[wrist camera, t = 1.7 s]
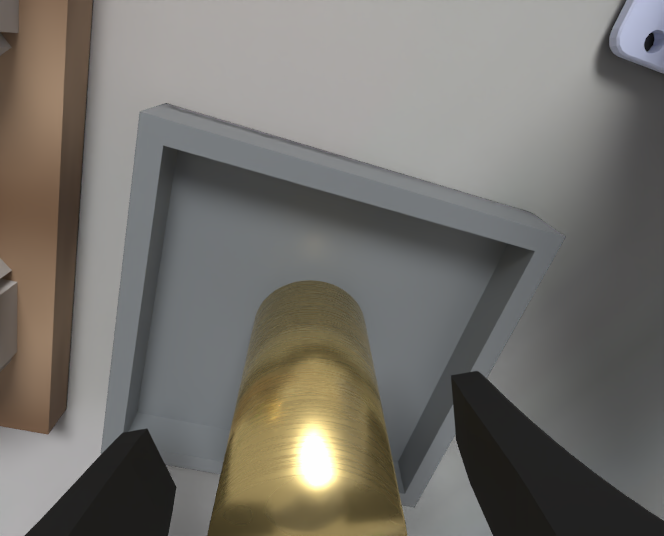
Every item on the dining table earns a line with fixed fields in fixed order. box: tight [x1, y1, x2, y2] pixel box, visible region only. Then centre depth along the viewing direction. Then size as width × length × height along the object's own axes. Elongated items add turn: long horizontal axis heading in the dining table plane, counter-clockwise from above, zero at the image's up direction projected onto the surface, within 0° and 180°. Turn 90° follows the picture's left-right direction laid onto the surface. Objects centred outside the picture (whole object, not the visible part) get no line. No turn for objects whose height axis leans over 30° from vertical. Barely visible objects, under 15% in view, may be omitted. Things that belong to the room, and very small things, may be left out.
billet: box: [208, 280, 407, 536], centre depth 11 cm, size 4×4×7 cm
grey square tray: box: [101, 103, 565, 507], centre depth 14 cm, size 11×11×2 cm
